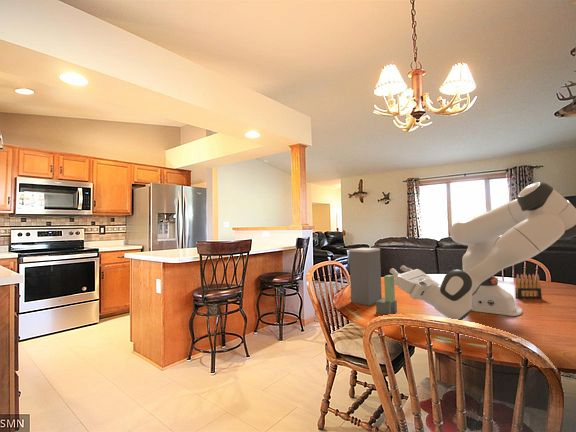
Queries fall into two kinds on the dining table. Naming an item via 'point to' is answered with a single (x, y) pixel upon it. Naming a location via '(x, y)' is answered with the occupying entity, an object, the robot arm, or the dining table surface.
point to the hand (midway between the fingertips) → (396, 268)
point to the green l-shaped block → (387, 297)
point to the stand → (365, 275)
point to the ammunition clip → (528, 287)
